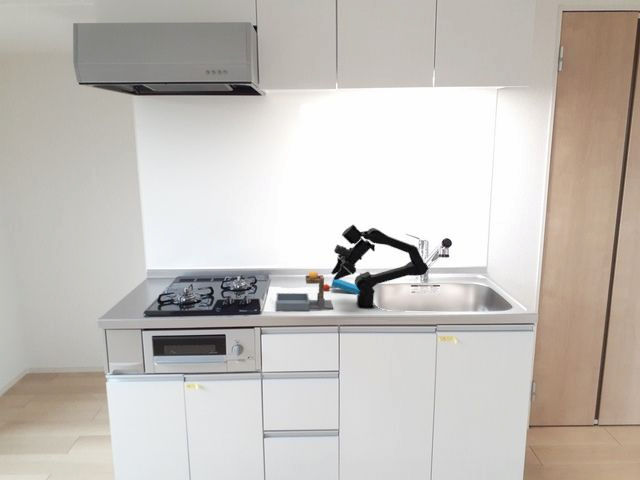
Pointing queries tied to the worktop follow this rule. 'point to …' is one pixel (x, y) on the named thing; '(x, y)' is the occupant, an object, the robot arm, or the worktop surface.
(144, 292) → the worktop surface
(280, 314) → the worktop surface
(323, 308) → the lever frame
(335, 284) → the lever
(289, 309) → the bin
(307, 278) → the brown wooden angled piece
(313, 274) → the ball
